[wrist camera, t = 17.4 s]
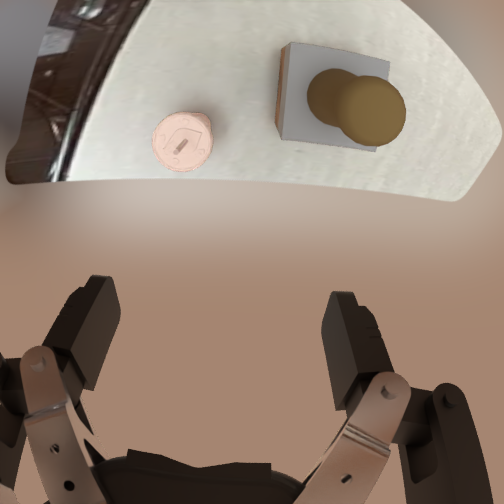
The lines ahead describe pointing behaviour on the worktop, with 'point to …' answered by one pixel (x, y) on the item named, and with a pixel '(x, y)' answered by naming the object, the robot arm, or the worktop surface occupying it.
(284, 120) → the slate top block
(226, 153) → the worktop surface
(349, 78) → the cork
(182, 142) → the smoothie
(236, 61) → the worktop surface
